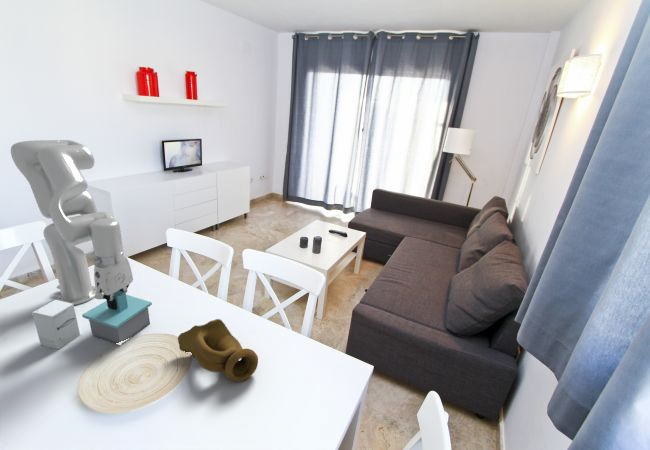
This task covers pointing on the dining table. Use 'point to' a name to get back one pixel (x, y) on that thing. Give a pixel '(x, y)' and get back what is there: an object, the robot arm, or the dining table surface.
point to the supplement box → (56, 324)
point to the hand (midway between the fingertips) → (117, 305)
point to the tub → (121, 328)
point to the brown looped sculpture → (219, 350)
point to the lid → (117, 310)
